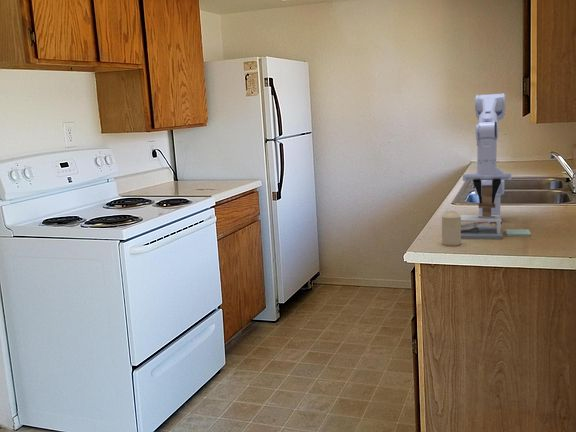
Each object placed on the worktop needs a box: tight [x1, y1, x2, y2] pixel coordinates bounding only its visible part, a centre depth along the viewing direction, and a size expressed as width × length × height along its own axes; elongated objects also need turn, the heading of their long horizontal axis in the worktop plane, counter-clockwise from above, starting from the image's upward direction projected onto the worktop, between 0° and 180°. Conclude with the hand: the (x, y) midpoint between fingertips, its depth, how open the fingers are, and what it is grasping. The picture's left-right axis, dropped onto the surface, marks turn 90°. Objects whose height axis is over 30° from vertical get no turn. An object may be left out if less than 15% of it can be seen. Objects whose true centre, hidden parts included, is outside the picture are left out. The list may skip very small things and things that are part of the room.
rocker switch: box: [461, 222, 491, 230], centre depth 195 cm, size 4×9×1 cm, turn 73°
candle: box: [441, 210, 462, 247], centre depth 184 cm, size 6×6×10 cm
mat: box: [505, 228, 532, 237], centre depth 193 cm, size 7×7×1 cm
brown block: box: [478, 185, 495, 217], centre depth 193 cm, size 5×5×10 cm
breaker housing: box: [459, 214, 504, 240], centre depth 196 cm, size 14×16×5 cm
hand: (486, 202), depth 193 cm, fingers closed on brown block, 3 cm apart
